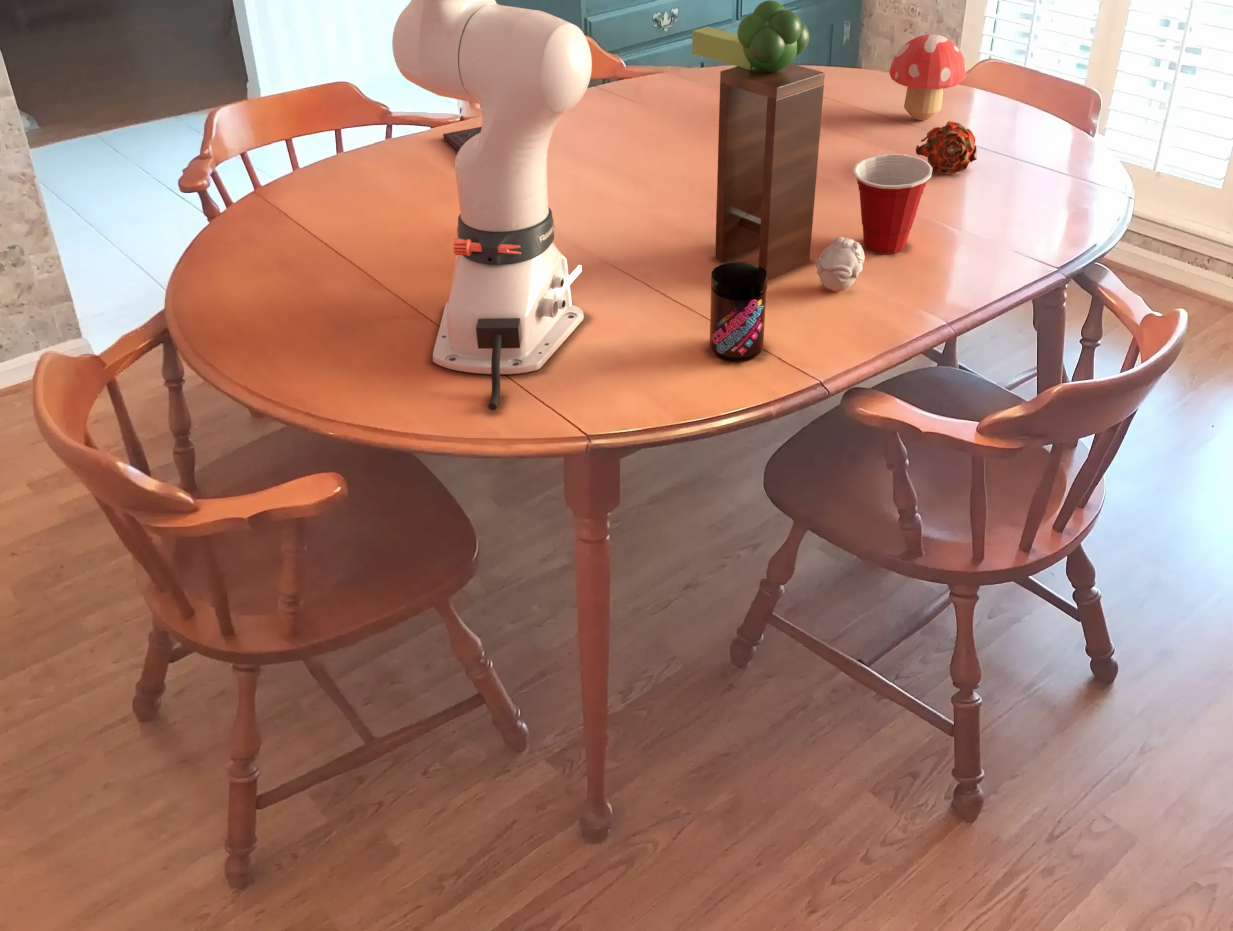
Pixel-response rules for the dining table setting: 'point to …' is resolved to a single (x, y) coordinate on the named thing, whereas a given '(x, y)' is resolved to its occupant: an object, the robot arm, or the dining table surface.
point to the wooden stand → (768, 164)
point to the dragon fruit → (949, 148)
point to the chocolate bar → (461, 137)
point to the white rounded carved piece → (840, 264)
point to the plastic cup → (890, 198)
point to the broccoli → (756, 39)
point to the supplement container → (737, 311)
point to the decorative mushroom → (927, 73)
